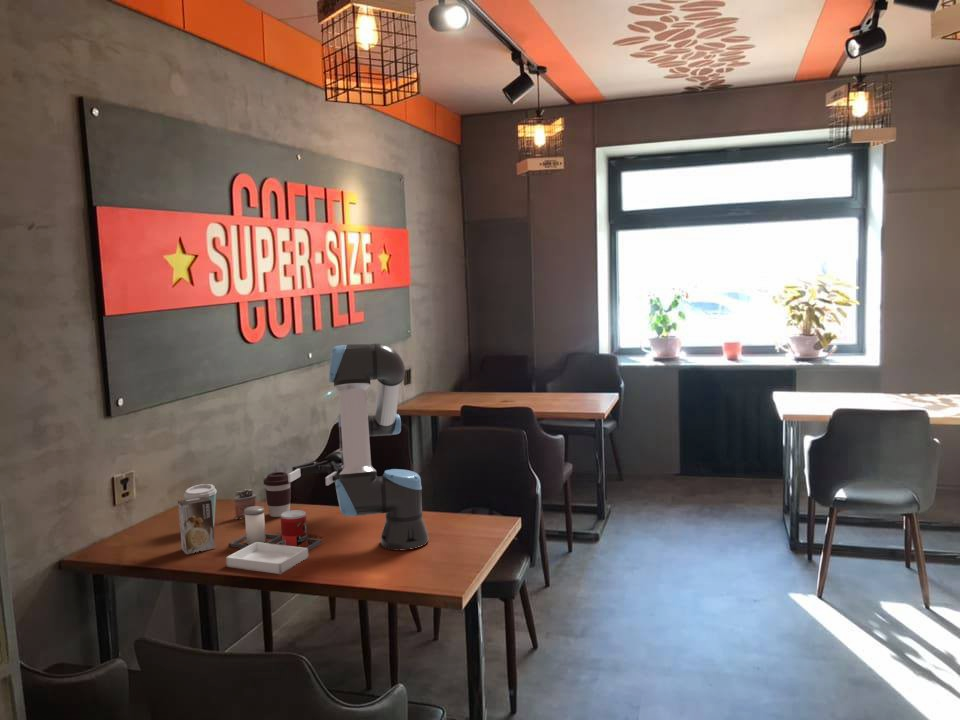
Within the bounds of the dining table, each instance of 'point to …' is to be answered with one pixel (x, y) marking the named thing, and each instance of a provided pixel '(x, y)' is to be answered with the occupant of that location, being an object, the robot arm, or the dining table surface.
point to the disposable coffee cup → (203, 494)
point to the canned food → (294, 528)
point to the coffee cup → (278, 493)
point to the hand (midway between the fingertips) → (307, 479)
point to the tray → (267, 557)
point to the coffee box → (196, 524)
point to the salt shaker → (255, 524)
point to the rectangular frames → (276, 538)
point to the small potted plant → (244, 502)
